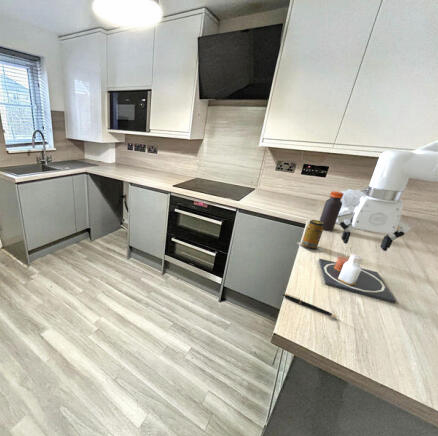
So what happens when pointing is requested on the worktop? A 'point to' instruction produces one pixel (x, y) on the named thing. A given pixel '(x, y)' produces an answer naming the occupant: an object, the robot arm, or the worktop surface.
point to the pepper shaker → (351, 269)
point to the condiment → (312, 236)
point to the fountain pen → (307, 304)
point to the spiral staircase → (349, 203)
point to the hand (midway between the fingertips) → (363, 245)
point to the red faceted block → (340, 263)
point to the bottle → (331, 210)
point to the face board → (357, 282)
